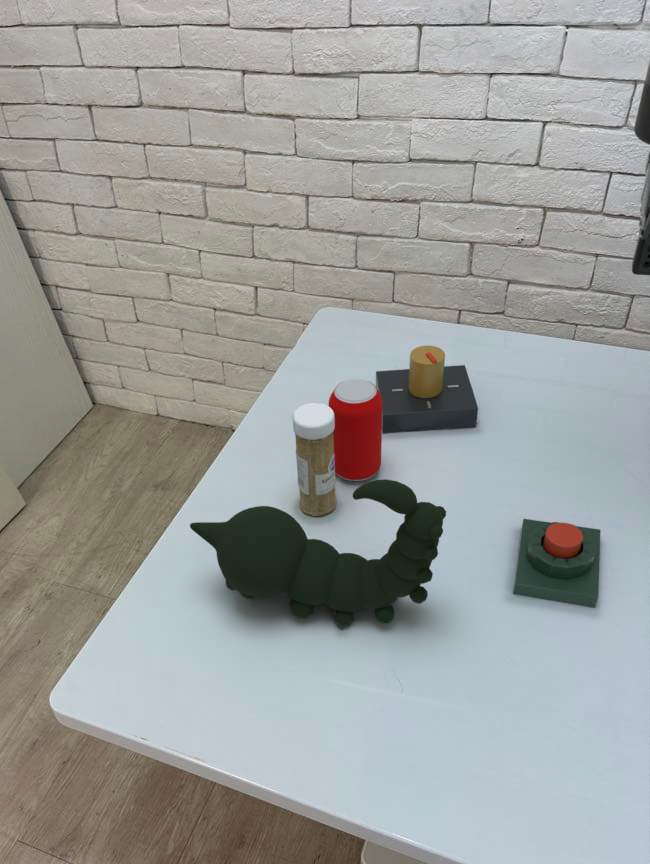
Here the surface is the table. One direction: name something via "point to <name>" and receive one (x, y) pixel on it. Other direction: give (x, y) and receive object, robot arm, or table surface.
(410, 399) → the panel
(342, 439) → the beverage can
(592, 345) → the table surface
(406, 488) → the toy figurine
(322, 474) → the spice jar
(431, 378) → the knob
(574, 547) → the button
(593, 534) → the button box
